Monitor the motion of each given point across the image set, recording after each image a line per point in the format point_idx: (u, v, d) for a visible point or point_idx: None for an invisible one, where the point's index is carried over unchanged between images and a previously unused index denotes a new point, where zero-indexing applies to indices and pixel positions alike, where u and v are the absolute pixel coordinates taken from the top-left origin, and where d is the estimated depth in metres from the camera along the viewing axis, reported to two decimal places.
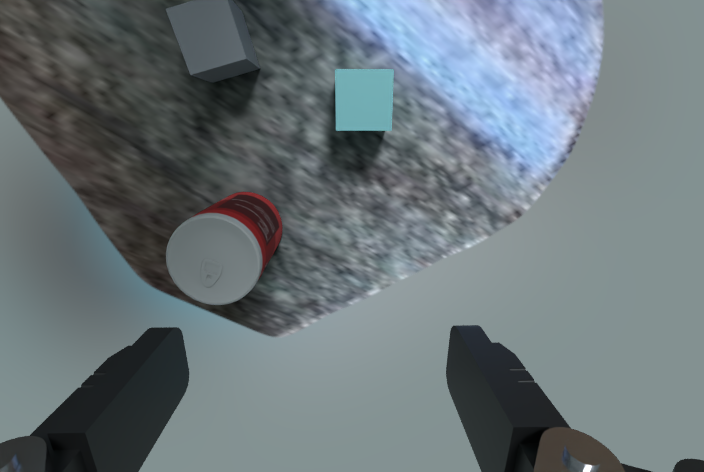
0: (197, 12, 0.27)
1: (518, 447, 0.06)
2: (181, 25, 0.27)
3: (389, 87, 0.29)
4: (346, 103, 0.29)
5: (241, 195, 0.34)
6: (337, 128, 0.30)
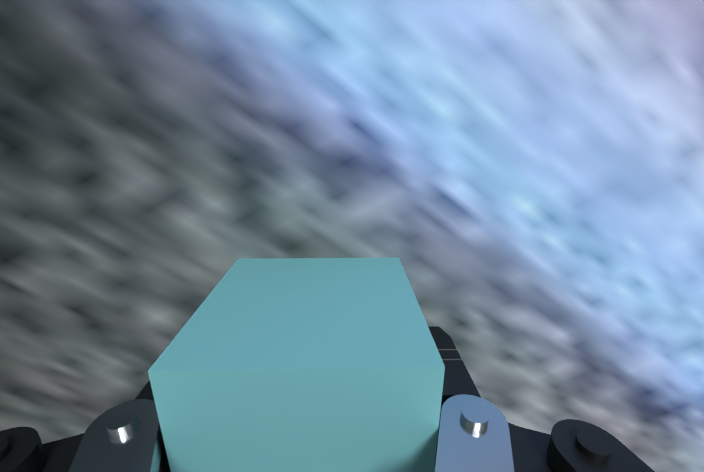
0: None
1: None
2: None
3: (421, 431, 0.06)
4: None
5: None
6: None
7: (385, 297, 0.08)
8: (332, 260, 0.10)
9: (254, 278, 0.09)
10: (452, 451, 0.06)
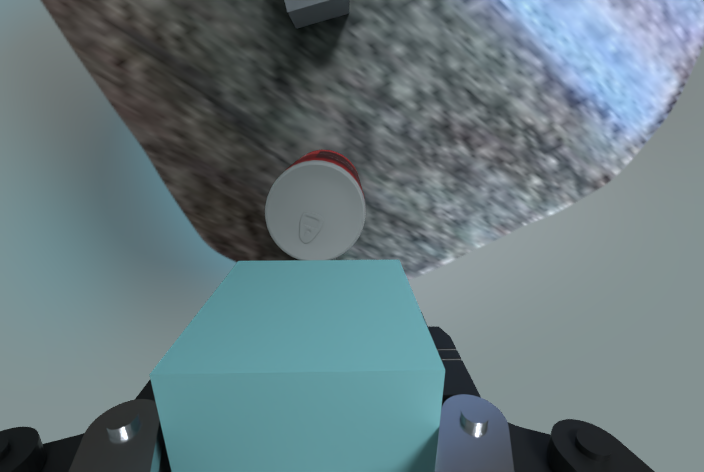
0: None
1: None
2: None
3: (421, 434, 0.06)
4: None
5: (324, 151, 0.31)
6: None
7: (385, 300, 0.08)
8: (332, 262, 0.10)
9: (255, 280, 0.09)
10: (452, 451, 0.06)
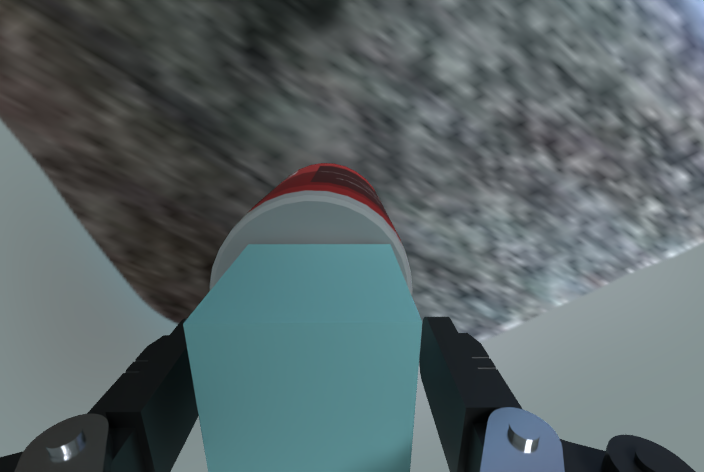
0: None
1: (471, 426, 0.07)
2: None
3: (403, 377, 0.07)
4: (243, 424, 0.08)
5: (327, 167, 0.19)
6: None
7: (376, 274, 0.09)
8: (331, 245, 0.12)
9: (264, 259, 0.10)
10: (506, 470, 0.05)
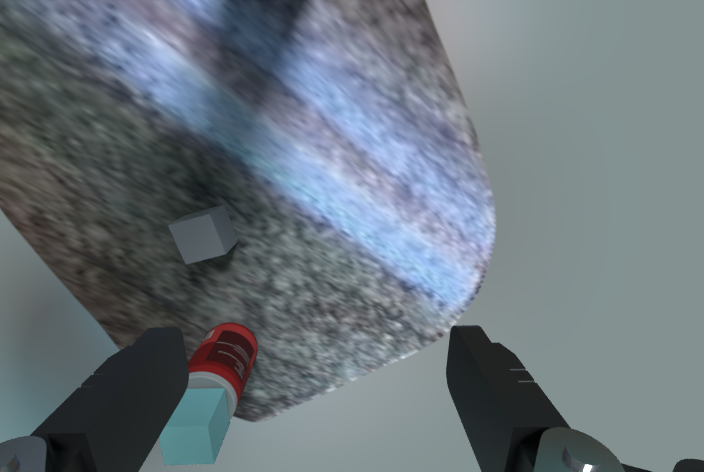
0: (190, 226, 0.38)
1: (518, 447, 0.06)
2: (178, 235, 0.38)
3: (206, 437, 0.33)
4: (170, 447, 0.33)
5: (224, 332, 0.45)
6: (166, 463, 0.34)
7: (209, 406, 0.35)
8: (205, 389, 0.37)
9: None
10: None
